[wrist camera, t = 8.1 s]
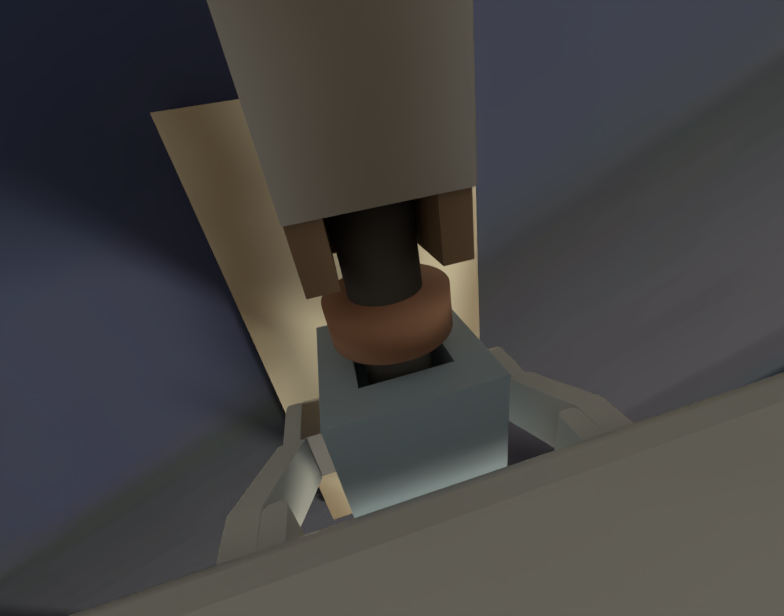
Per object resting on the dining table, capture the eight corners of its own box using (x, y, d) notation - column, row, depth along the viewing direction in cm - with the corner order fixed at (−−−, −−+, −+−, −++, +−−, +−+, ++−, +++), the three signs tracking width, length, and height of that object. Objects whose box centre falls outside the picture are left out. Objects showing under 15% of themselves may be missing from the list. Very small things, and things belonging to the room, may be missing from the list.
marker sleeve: (440, 296, 12) (510, 374, 8) (449, 395, 14) (506, 495, 10) (316, 327, 11) (320, 431, 7) (348, 425, 13) (364, 544, 9)
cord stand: (459, 69, 13) (721, -68, 5) (475, 456, 26) (557, 606, 17) (163, 116, 12) (-206, 32, 3) (332, 503, 24) (345, 694, 16)
